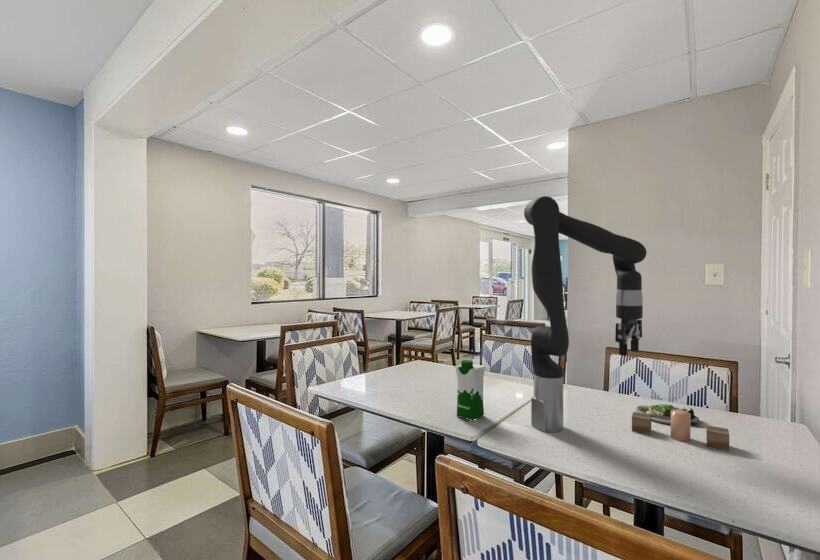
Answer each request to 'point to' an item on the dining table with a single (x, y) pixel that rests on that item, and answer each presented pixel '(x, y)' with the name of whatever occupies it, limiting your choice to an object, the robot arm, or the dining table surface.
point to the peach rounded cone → (680, 425)
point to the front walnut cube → (717, 438)
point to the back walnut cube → (641, 423)
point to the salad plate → (664, 413)
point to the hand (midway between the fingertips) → (629, 353)
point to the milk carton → (470, 390)
